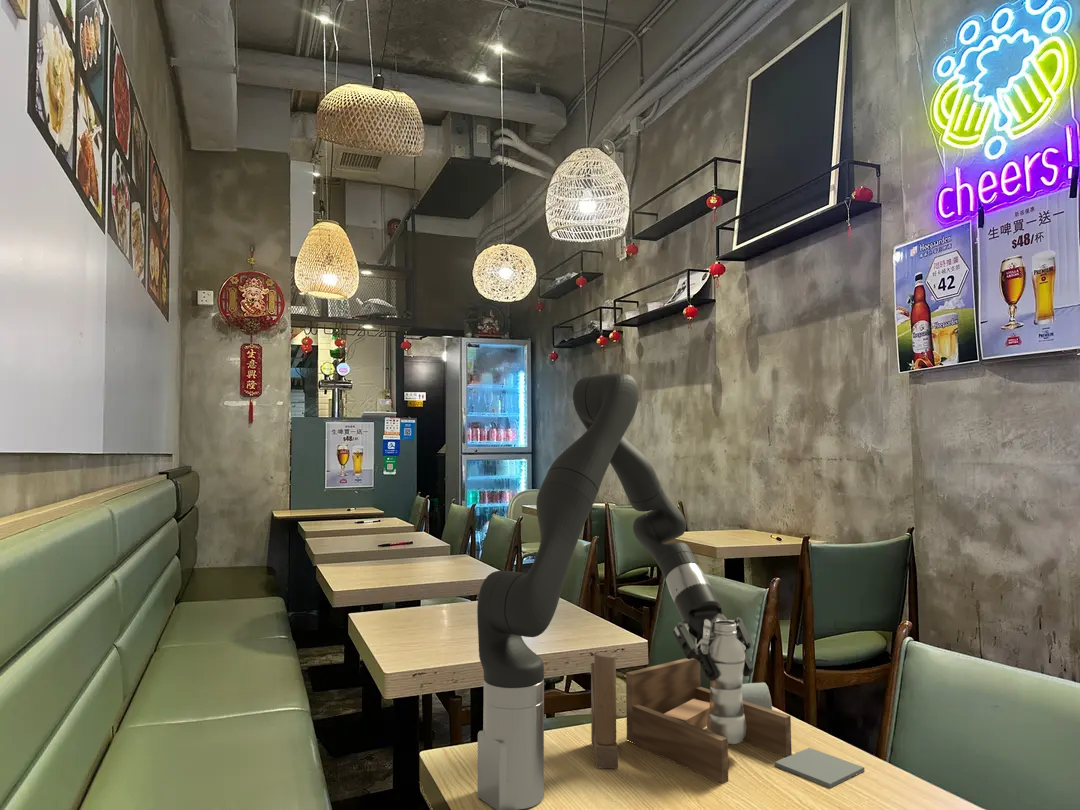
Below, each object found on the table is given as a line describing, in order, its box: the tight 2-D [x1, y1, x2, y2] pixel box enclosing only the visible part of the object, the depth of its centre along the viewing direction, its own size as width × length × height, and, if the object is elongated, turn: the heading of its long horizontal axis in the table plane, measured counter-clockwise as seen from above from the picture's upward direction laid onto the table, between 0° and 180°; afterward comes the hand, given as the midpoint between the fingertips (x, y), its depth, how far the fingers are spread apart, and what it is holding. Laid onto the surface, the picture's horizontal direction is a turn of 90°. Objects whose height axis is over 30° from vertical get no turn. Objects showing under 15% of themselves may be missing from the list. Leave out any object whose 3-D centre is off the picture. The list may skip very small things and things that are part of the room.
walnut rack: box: [625, 657, 793, 784], centre depth 126 cm, size 18×22×12 cm
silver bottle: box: [707, 620, 746, 745], centre depth 123 cm, size 6×7×20 cm
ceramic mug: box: [742, 682, 773, 710], centre depth 136 cm, size 11×8×8 cm
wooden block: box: [590, 651, 619, 769], centre depth 123 cm, size 4×11×18 cm, turn 0°
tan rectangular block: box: [664, 699, 710, 731], centre depth 128 cm, size 12×5×6 cm, turn 135°
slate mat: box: [774, 747, 865, 789], centre depth 117 cm, size 10×10×1 cm
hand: (732, 675), depth 122 cm, fingers closed on silver bottle, 6 cm apart
